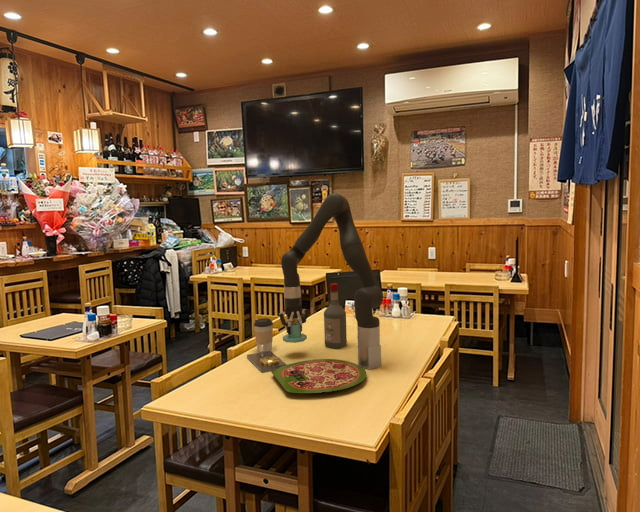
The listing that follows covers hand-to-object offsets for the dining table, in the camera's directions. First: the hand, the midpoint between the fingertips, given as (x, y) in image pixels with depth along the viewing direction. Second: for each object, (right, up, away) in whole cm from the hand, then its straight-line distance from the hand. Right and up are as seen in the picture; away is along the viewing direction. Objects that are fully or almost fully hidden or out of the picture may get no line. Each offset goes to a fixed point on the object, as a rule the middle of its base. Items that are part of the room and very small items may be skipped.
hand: (294, 333), depth 213 cm
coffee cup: (-15, -10, +10) cm, 20 cm away
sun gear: (-10, -11, -12) cm, 19 cm away
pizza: (+12, -14, -28) cm, 33 cm away
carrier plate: (-12, -12, -7) cm, 18 cm away
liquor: (+19, -8, +14) cm, 25 cm away
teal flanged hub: (0, -3, 0) cm, 3 cm away
